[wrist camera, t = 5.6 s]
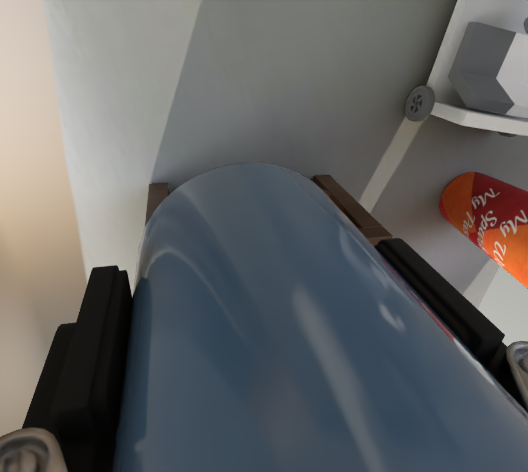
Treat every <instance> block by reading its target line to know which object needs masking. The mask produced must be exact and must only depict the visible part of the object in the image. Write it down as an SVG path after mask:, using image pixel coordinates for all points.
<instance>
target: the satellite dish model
mask: <svg viewBox="0 0 528 472" xmlns="http://www.w3.org/2000/svg"><path fill="white" fill-rule="evenodd" d="M405 114H406V117H407V118H408V119H409V120H410V121H414V122H421V121H424V120H425V119H426V118H427V117H428V116H429V115H430V114H432V115H435V116H437V117H440V118H443V119H446V120H448V121H451V122H454V123H457V124H459V125H462V126H468V127H474V128H481V129H487V130H493V131H497V132H498V133H499V134H500V135H503V136H508V137H512V136H516V135H523V136H528V0H458V1H457V3H456V6H455V9H454V11H453V14H452V17H451V20H450V22H449V25H448V28H447V31H446V33H445V36H444V39H443V42H442V44H441V47H440V50H439V52H438V55H437V58H436V61H435V63H434V66H433V69H432V72H431V74H430V77H429V80H428V83H427V85H426V86H418V87H416V88H415V89H414V90H413V91H412V92H411V93H410V95H409V97H408V99H407V102H406V106H405Z"/></svg>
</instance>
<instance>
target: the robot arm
mask: <svg viewBox="0 0 528 472" xmlns="http://www.w3.org/2000/svg"><path fill="white" fill-rule="evenodd" d="M374 247H375V248H376V249H377V250H378V251H379V252H380V253H381V254H382V255H383V256H384V257H385V259H386V260H387V261H388V262H389V263H390V264H391V265H392V266H393V267H394V268H395V269H396V270H397V272H398V273H399V274H400V275H401V276H402V277H403V278H404V279H405V280H406V281H407V282H408V284H409V285H410V286H411V287H412V288H413V289H414V290H415V291H416V292H417V293H418V294H419V295H420V297H421V298H422V299H423V300H424V301H425V302H426V303H427V304H428V305H429V306H430V307H431V309H432V310H433V311H434V312H435V313H436V314H437V315H438V316H439V317H440V318H441V319H442V320H443V322H444V323H445V324H446V325H447V326H448V327H449V328H450V329H451V330H452V331H453V332H454V334H455V335H456V336H457V337H458V338H459V339H460V340H461V341H462V342H463V343H464V344H465V345H466V347H467V348H468V349H469V350H470V351H471V352H472V353H473V354H474V355H475V356H476V357H477V359H478V360H479V361H480V362H481V363H482V364H483V365H484V366H485V367H486V368H487V369H488V371H489V372H490V373H491V374H492V375H493V376H494V377H495V378H496V379H497V380H498V381H499V382H500V384H501V385H502V386H503V387H504V388H505V389H506V390H507V391H508V392H509V393H510V394H511V396H512V397H513V398H514V399H515V400H516V401H517V402H518V403H519V404H520V405H521V406H522V407H523V409H524V410H525V411H526V412H527V413H528V342H527V341H519V342H514V343H512V344H511V345H509V346H508V347H507V346H506V345H505V344H504V343H502V340H503V338H504V336H505V335H504V334H503V333H502V332H501V331H500V330H499V329H498V328H497V327H496V326H495V325H494V324H493V323H491V322H490V321H489V320H488V319H487V318H486V317H485V316H484V315H483V314H482V313H481V312H480V311H479V310H478V309H476V308H475V307H474V306H473V305H472V304H471V303H470V302H469V301H468V300H467V299H466V298H465V297H464V296H463V295H461V294H460V293H459V292H458V291H457V290H456V289H455V288H454V287H453V286H452V285H451V284H450V283H449V282H447V281H446V280H445V279H444V278H443V277H442V276H441V275H440V274H439V273H438V272H437V271H436V270H435V269H433V268H432V267H431V266H430V265H429V264H428V263H427V262H426V261H425V260H424V259H423V258H422V257H421V256H419V255H418V254H417V253H416V252H415V251H414V250H413V249H412V248H411V247H410V246H409V245H408V244H407V243H406V242H404V241H403V240H402V239H400V238H395V239H385V240H380V241H379V242H378V244H377V245H375V246H374ZM131 305H132V295H131V289H130V284H129V279H128V274H127V271H126V270H122V271H119V268H118V266H117V265H115V266H105V267H95V268H93V269H92V271H91V275H90V278H89V281H88V285H87V288H86V292H85V295H84V298H83V302H82V305H81V309H80V312H79V315H78V319H77V322H76V323H68V324H61V325H60V326H59V327H58V329H57V331H56V333H55V336H54V339H53V342H52V345H51V347H50V350H49V353H48V356H47V359H46V362H45V364H44V367H43V370H42V373H41V376H40V379H39V382H38V384H37V387H36V390H35V393H34V395H33V398H32V401H31V404H30V407H29V410H28V412H27V415H26V418H25V421H24V424H23V427H22V429H19V430H16V431H14V432H11V433H8V434H6V435H3V436H2V437H0V472H111V470H112V462H113V454H114V445H115V437H116V429H117V421H118V412H119V404H120V396H121V388H122V379H123V371H124V363H125V355H126V346H127V338H128V330H129V322H130V314H131Z"/></svg>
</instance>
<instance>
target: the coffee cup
mask: <svg viewBox="0 0 528 472" xmlns="http://www.w3.org/2000/svg"><path fill="white" fill-rule="evenodd" d="M440 211H441V214H442V215H443V216H444V217H445V218H446V219H447V220H448V221H449V222H450V223H451V224H452V225H453V226H454V227H456V228H457V229H458V230H459V231H460V232H461V233H463V234H464V235H465V236H466V237H467V238H468V239H470V240H471V241H472V242H473V243H474V244H475V245H477V246H478V247H479V248H480V249H481V250H483V251H484V252H485V253H486V254H487V255H488V256H490V257H491V258H492V259H493V260H494V261H496V262H497V263H498V264H499V265H500V266H502V267H503V268H504V269H505V270H506V271H508V272H509V273H510V274H511V275H512V276H514V277H515V278H516V279H517V280H518V281H519V282H520V283H522V284H523V285H524V286H525V287H527V288H528V192H527V191H525V190H522V189H520V188H517V187H515V186H512V185H510V184H507V183H505V182H502V181H500V180H497V179H495V178H492V177H489V176H487V175H484V174H481V173H477V172H468V173H465V174H462V175H460V176H458V177H457V178H455V179H454V180H453V181H452V182H451V183H450V184H449V185H448V186H447V187H446V189H445V190H444V192H443V194H442V196H441V199H440Z"/></svg>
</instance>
